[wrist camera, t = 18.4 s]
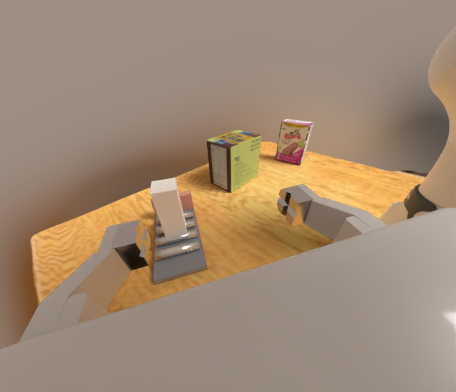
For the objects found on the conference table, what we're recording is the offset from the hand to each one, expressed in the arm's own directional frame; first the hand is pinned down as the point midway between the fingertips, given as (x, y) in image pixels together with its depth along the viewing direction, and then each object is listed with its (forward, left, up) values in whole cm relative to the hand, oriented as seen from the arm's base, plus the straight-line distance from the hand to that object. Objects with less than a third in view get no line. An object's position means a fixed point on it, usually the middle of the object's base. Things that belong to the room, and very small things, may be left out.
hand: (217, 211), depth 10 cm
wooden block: (+6, -22, -22) cm, 32 cm away
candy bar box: (-44, -51, -26) cm, 72 cm away
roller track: (+6, -22, -25) cm, 34 cm away
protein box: (-16, -44, -26) cm, 53 cm away
